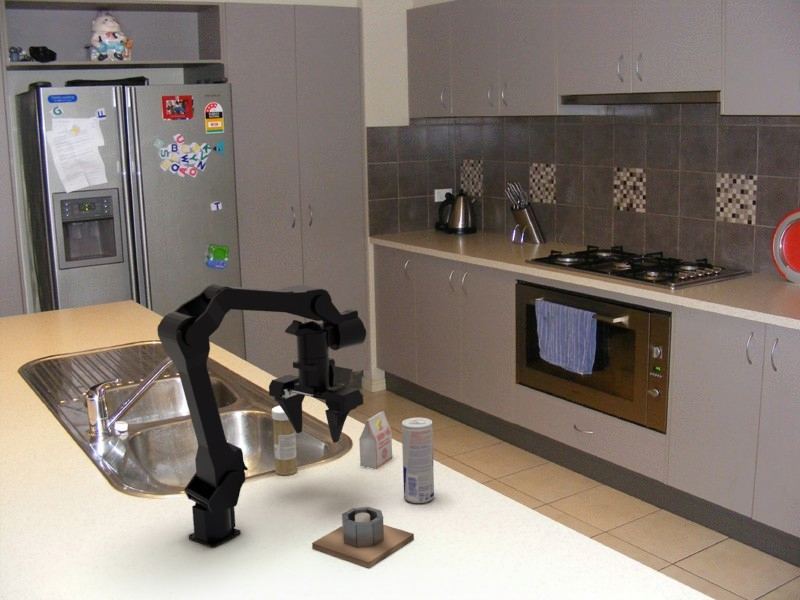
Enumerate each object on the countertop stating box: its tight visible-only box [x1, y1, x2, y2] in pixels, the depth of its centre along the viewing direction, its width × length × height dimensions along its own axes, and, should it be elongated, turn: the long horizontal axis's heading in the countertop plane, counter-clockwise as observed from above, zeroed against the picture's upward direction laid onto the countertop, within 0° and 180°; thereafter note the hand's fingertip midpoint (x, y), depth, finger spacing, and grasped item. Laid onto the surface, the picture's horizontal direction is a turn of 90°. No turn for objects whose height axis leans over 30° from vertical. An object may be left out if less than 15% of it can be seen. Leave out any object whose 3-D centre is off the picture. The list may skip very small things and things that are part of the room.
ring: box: [341, 506, 384, 548], centre depth 152 cm, size 7×7×4 cm
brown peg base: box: [311, 513, 415, 569], centre depth 152 cm, size 12×12×5 cm
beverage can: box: [401, 417, 435, 504], centre depth 168 cm, size 6×6×15 cm
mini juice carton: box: [358, 411, 393, 470], centre depth 187 cm, size 4×7×10 cm, turn 152°
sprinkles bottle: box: [271, 405, 298, 476], centre depth 183 cm, size 5×5×14 cm
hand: (317, 437), depth 168 cm, fingers open, 9 cm apart
